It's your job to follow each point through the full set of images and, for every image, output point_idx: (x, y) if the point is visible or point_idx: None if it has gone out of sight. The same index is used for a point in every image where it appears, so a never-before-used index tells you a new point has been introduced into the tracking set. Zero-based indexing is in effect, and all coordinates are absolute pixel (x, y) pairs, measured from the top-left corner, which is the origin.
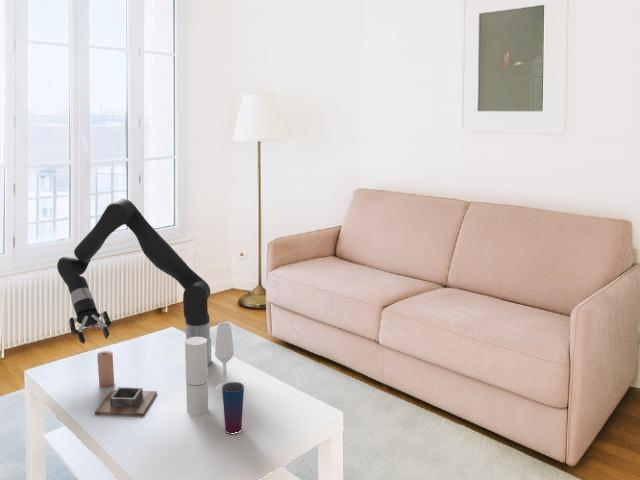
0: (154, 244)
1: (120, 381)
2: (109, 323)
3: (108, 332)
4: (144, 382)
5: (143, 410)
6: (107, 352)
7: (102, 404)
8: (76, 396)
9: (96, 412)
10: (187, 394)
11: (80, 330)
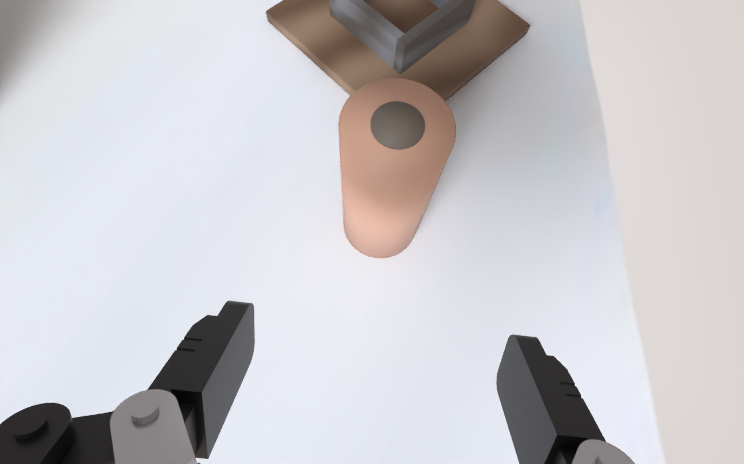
0: None
1: (312, 210)
2: (44, 415)
3: (186, 341)
4: (237, 130)
5: None
6: (374, 124)
7: (486, 52)
8: (539, 205)
9: (524, 23)
10: None
11: (604, 459)
